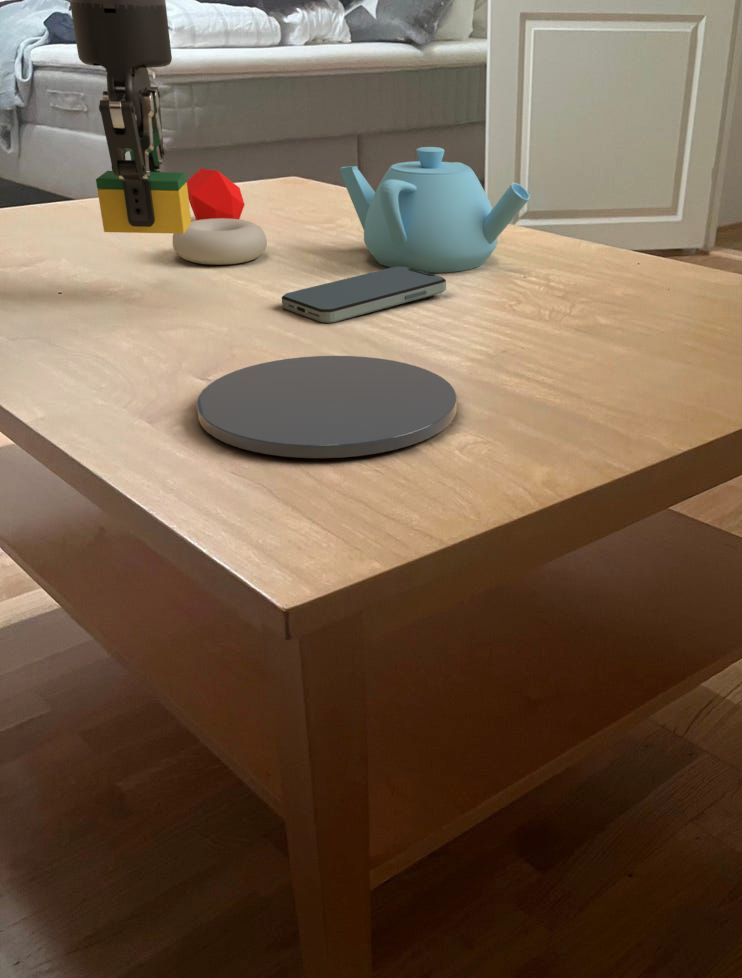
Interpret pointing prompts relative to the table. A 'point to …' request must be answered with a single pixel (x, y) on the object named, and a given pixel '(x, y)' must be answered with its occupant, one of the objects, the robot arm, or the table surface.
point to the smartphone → (363, 294)
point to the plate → (326, 406)
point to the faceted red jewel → (214, 196)
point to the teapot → (431, 214)
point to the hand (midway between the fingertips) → (147, 218)
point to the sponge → (166, 203)
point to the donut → (220, 241)
